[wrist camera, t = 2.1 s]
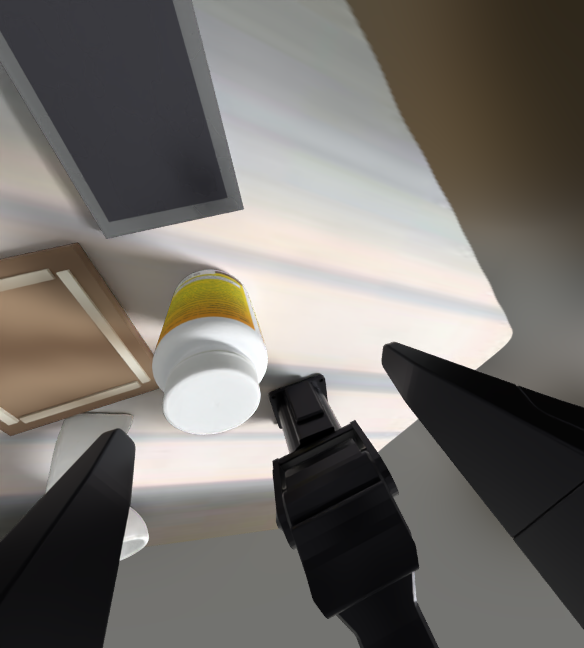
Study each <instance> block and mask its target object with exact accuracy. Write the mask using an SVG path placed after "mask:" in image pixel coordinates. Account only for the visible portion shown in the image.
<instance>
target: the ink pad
mask: <svg viewBox="0 0 584 648" xmlns="http://www.w3.org/2000/svg"><path fill="white" fill-rule="evenodd" d="M0 62H1V63H2V65H3V67H4V68H5V70H6V72H7V73H8V75H9V77H10V78H11V80H12V82H13V83H14V85H15V87H16V88H17V90H18V92H19V94H20V95H21V97H22V99H23V100H24V102H25V104H26V105H27V107H28V109H29V110H30V112H31V114H32V115H33V117H34V119H35V120H36V122H37V124H38V125H39V127H40V129H41V130H42V132H43V134H44V135H45V137H46V139H47V140H48V142H49V144H50V145H51V147H52V149H53V150H54V152H55V154H56V155H57V157H58V159H59V160H60V162H61V164H62V165H63V167H64V169H65V170H66V172H67V174H68V175H69V177H70V179H71V180H72V182H73V184H74V185H75V187H76V189H77V190H78V192H79V194H80V196H81V197H82V199H83V201H84V202H85V204H86V206H87V207H88V209H89V211H90V212H91V214H92V216H93V217H94V219H95V221H96V222H97V224H98V226H99V227H100V229H101V231H102V232H103V234H104V236H105V237H106V239H108V238H113V237H117V236H122V235H126V234H131V233H136V232H140V231H145V230H150V229H154V228H159V227H164V226H168V225H173V224H178V223H182V222H187V221H192V220H196V219H201V218H206V217H210V216H215V215H219V214H224V213H229V212H233V211H238V210H243V209H244V207H243V203H242V199H241V195H240V191H239V187H238V183H237V179H236V175H235V171H234V167H233V163H232V159H231V155H230V151H229V147H228V143H227V139H226V135H225V131H224V127H223V123H222V119H221V115H220V111H219V107H218V103H217V99H216V95H215V91H214V87H213V83H212V79H211V75H210V71H209V68H208V64H207V60H206V56H205V52H204V48H203V44H202V40H201V36H200V32H199V28H198V24H197V20H196V16H195V12H194V8H193V4H192V0H0Z"/></svg>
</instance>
